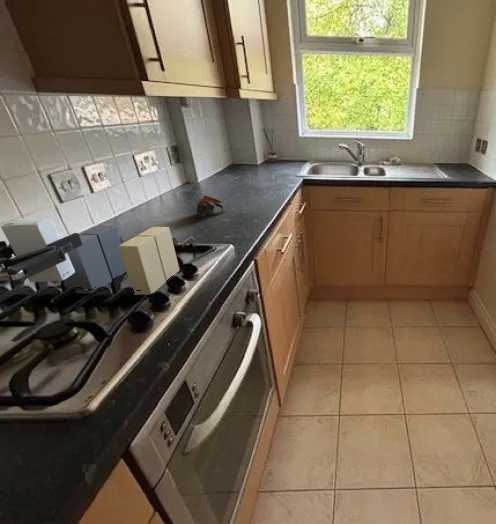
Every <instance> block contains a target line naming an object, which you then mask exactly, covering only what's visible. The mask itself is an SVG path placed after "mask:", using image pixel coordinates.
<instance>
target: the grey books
mask: <svg viewBox="0 0 496 524" xmlns="http://www.w3.org/2000/svg"><path fill="white" fill-rule="evenodd" d="M79 237H80V239H81V242H82V246H80V247H78V248H76V249H73V250H71V251H69V252H67V254H68V256H69V259H70V261H71V263H72V266H73V268H74V270H75V273H73V274H72V275H71V276H69V277H68V278H69V279H70V282H71V284H72V286H73V288H74V287H77V286H79V287H82V288H84V289H91V290H79V291H75V293H76V294H91V293H90V292H91V291H93V290H94V289H96V288H98V287H101V286H104V287H106V286H107V285H109V284H110V283H112V282H113V281H114V280H113V279H114V278H115V277H116V276H118V275H120V276H122V275H123V274H125V273H127V271H126V268H125V265H124V262H123V259H122V256H121V253H120V250H119V247H118V246H119V245H121V244H123V242H122V241H121V237H120V233H119V231H118V227H117V225H100V224H99V225H98V226H94V227H93V228H90V229H88V230H86V231H84V232H81V233H80V234H79ZM95 287H96V288H95ZM93 288H94V289H93ZM92 289H93V290H92Z"/></svg>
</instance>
